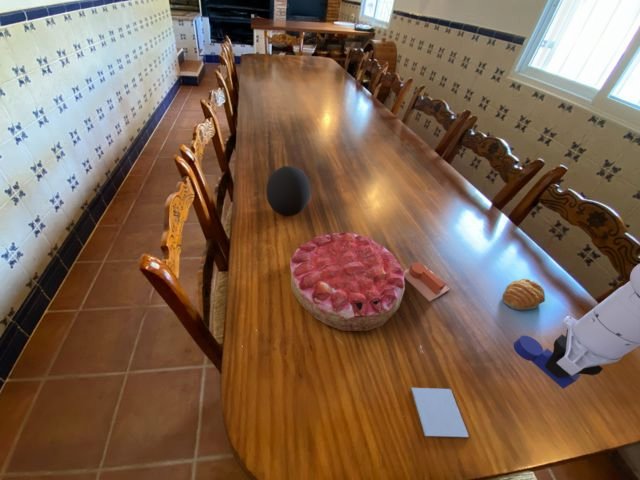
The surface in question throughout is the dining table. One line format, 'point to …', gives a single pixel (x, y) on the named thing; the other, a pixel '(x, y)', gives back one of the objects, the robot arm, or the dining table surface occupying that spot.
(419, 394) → the blue mat
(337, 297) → the cake
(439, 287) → the terracotta spoon
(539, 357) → the blue spoon
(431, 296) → the rose mat
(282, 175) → the decorative egg
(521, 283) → the pastry
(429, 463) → the dining table surface
